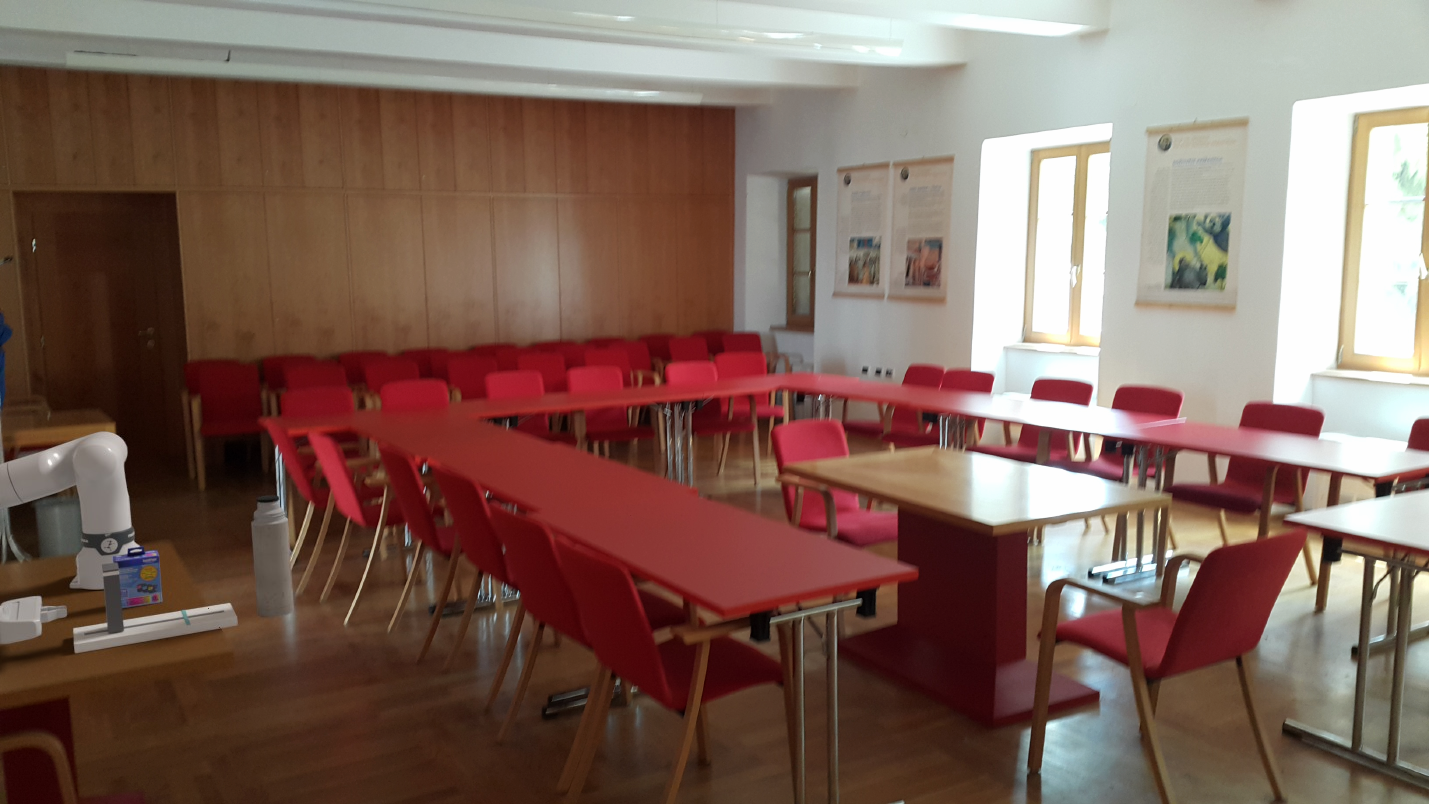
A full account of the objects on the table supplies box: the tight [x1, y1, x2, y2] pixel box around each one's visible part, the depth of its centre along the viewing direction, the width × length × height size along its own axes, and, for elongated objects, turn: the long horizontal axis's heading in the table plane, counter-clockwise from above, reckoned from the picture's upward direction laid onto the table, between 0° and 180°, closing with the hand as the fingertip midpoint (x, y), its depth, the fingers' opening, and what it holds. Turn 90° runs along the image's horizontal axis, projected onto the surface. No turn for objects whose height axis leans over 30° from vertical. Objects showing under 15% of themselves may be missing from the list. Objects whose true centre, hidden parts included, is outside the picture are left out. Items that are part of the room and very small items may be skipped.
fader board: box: [72, 602, 239, 654], centre depth 238 cm, size 12×32×2 cm, turn 122°
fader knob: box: [102, 563, 124, 633], centre depth 233 cm, size 6×3×14 cm, turn 32°
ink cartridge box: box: [113, 545, 163, 609], centre depth 258 cm, size 10×6×14 cm, turn 124°
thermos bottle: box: [250, 494, 295, 619], centre depth 249 cm, size 8×8×28 cm
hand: (66, 610), depth 229 cm, fingers closed
